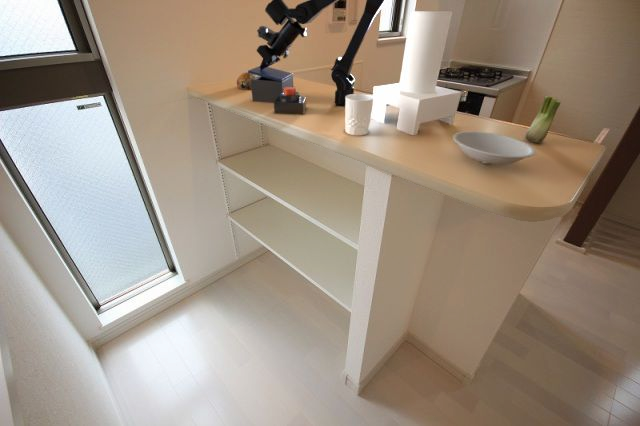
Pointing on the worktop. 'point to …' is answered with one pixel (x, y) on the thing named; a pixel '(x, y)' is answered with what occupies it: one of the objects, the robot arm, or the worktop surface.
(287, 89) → the button
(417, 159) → the worktop surface
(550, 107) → the fennel bulb
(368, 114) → the white cup
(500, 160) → the dish
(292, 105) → the red push button box
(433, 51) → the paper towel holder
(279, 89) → the dark grey housing
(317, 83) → the worktop surface
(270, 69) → the lid
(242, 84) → the bread roll
